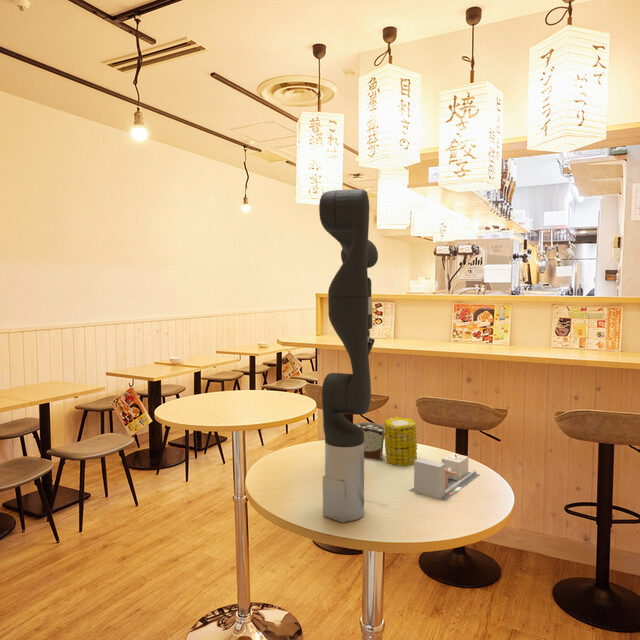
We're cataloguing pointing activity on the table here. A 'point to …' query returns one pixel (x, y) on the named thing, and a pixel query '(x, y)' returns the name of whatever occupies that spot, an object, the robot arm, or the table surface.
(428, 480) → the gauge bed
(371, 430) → the chocolate cake half
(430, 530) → the table surface
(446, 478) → the brown slider plate
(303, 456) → the table surface
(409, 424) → the food
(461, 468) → the gauge housing
